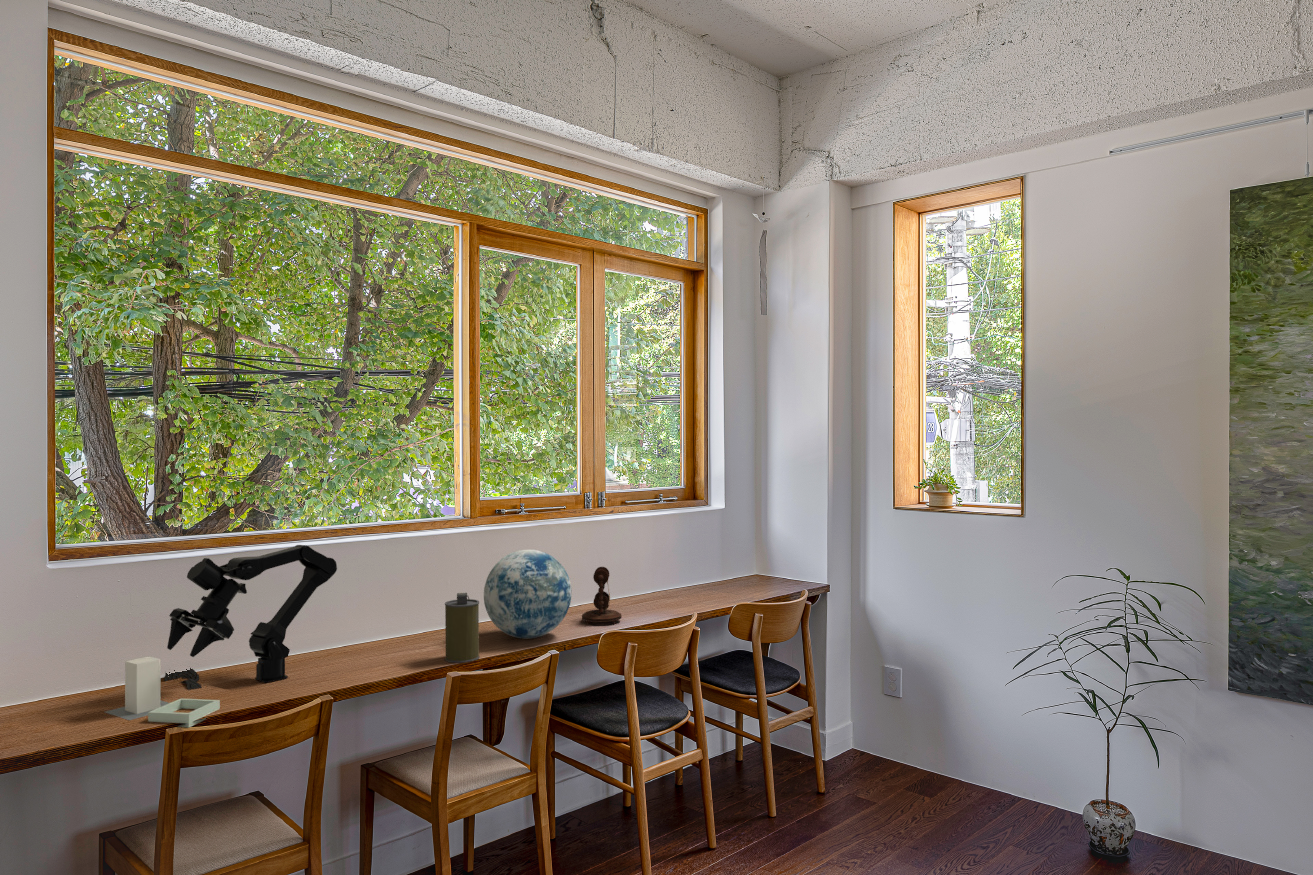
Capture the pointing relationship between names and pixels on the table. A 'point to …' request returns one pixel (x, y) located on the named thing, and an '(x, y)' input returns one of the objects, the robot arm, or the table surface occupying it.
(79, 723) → the table surface
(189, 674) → the hairbrush
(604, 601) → the dark pedestal ornament
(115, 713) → the coaster
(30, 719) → the table surface
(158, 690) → the white block
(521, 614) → the globe
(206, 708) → the tray
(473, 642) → the canister
